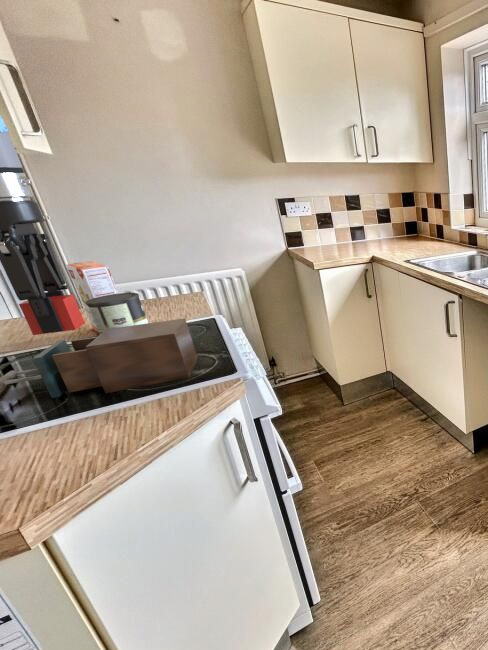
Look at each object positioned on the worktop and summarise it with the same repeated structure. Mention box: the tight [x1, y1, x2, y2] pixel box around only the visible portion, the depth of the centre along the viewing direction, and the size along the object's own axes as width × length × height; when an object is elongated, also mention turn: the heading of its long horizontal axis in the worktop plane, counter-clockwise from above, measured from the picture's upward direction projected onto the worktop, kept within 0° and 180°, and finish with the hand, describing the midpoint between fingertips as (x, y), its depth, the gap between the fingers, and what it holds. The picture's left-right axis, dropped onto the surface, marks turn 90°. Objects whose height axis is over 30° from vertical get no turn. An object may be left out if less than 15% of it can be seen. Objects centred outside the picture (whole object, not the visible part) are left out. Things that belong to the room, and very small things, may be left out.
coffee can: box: [86, 292, 149, 335], centre depth 111 cm, size 10×10×14 cm
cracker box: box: [65, 260, 119, 336], centre depth 120 cm, size 14×6×21 cm, turn 56°
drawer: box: [0, 336, 103, 399], centre depth 89 cm, size 22×11×9 cm, turn 118°
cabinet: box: [86, 318, 199, 394], centre depth 95 cm, size 15×13×11 cm
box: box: [18, 293, 86, 336], centre depth 80 cm, size 6×4×6 cm
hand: (59, 327), depth 81 cm, fingers closed on box, 4 cm apart
